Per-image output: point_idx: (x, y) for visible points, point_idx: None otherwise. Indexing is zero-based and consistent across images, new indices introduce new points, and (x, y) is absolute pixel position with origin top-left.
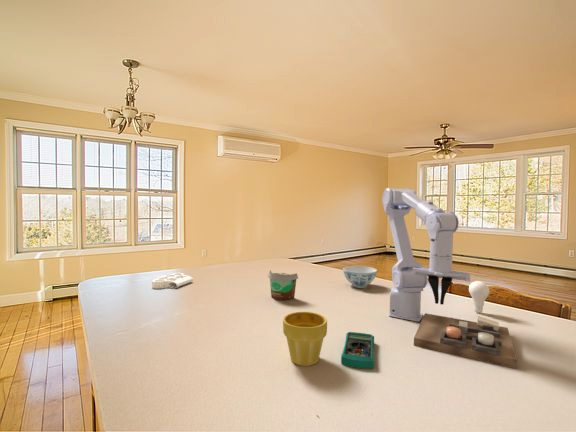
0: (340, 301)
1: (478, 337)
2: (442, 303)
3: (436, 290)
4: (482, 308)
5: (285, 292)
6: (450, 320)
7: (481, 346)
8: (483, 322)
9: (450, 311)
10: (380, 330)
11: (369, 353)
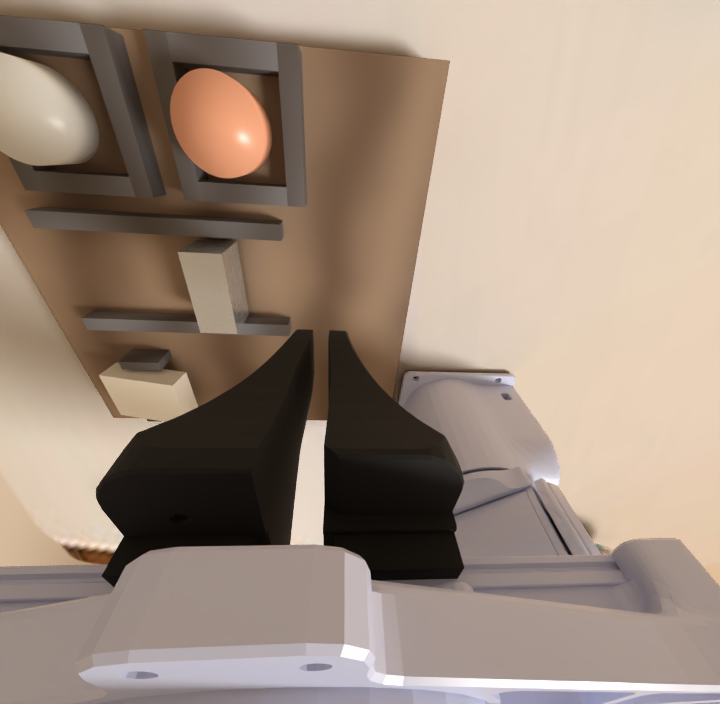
0: (673, 427)
1: (69, 102)
2: (296, 330)
3: (338, 381)
4: None
5: None
6: None
7: (51, 34)
8: (156, 380)
9: (314, 487)
10: (581, 202)
11: None
